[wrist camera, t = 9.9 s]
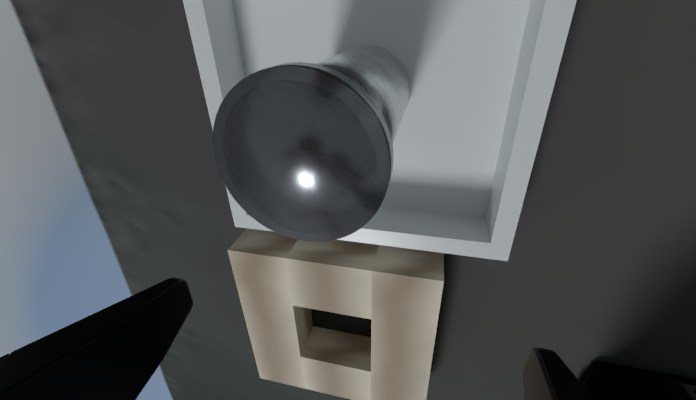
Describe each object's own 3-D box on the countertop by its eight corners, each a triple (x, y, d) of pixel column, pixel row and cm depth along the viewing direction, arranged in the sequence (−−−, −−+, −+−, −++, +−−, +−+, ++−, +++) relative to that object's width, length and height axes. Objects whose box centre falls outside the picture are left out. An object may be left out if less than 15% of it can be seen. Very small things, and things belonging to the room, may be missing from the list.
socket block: (443, 249, 21) (444, 281, 19) (425, 380, 28) (423, 416, 26) (249, 225, 25) (227, 249, 22) (274, 348, 31) (260, 377, 29)
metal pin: (419, 37, 16) (393, 66, 7) (412, 139, 18) (386, 251, 10) (318, 39, 17) (192, 66, 8) (324, 135, 19) (232, 231, 11)
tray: (584, -134, 12) (622, -173, 10) (499, 229, 20) (507, 261, 17) (203, -90, 16) (157, -109, 13) (257, 203, 23) (235, 226, 21)
